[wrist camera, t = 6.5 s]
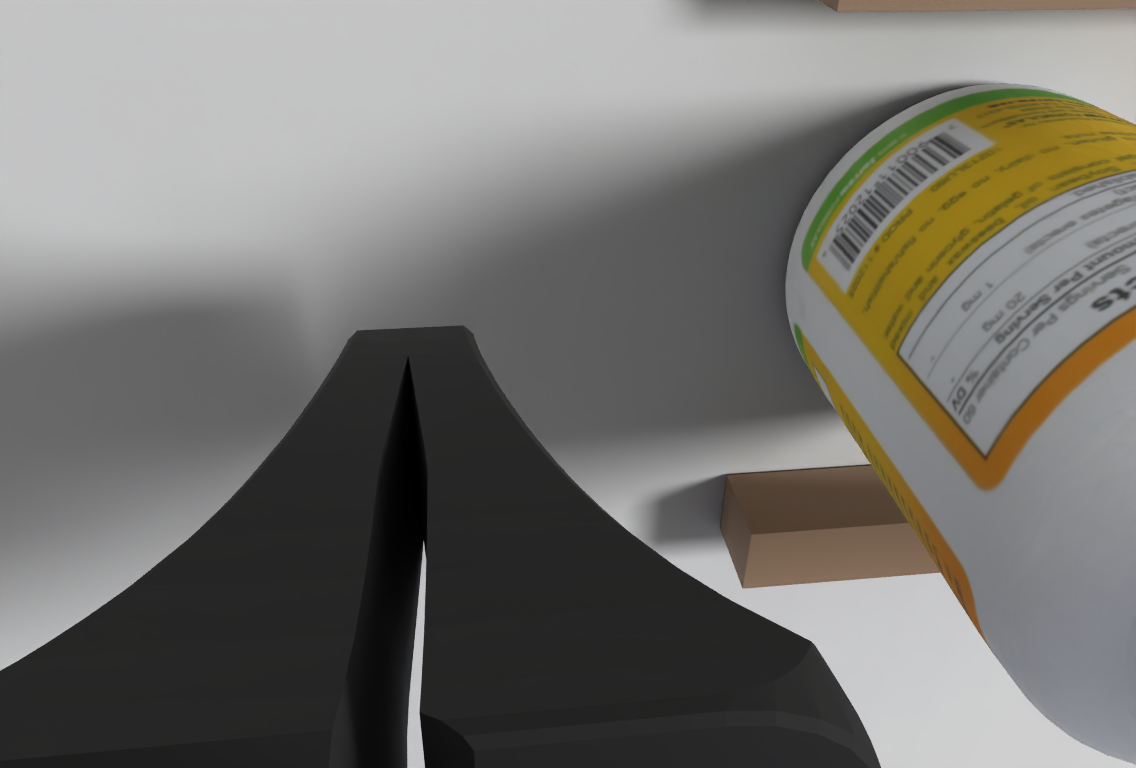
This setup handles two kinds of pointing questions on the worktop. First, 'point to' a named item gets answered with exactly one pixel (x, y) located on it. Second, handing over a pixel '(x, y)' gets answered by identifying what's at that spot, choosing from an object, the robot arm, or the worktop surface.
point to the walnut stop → (847, 494)
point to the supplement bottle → (996, 371)
